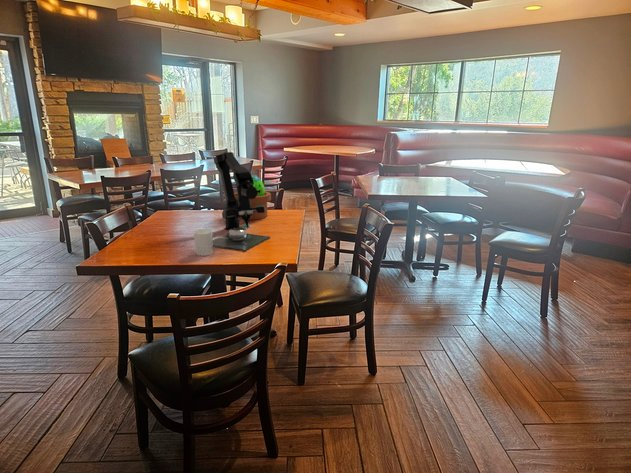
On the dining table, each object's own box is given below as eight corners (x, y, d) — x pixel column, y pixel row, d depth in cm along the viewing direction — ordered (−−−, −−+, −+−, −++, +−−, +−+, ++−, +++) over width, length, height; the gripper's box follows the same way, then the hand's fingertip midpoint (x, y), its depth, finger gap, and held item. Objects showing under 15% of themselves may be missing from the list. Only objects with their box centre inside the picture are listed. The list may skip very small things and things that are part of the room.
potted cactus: (226, 216, 244) (223, 174, 237) (258, 210, 258) (256, 170, 250) (245, 223, 228) (243, 178, 221) (278, 216, 241) (277, 174, 234)
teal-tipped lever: (243, 238, 190) (242, 232, 189) (226, 238, 192) (226, 231, 191) (255, 229, 206) (254, 223, 205) (239, 228, 208) (239, 222, 207)
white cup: (204, 257, 174) (202, 235, 171) (191, 254, 178) (189, 232, 175) (217, 252, 181) (216, 230, 178) (205, 249, 185) (203, 228, 182)
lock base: (201, 244, 191) (201, 239, 190) (229, 232, 210) (229, 228, 209) (245, 251, 182) (244, 246, 181) (270, 238, 201) (270, 233, 200)
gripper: (263, 191, 206) (266, 221, 211) (225, 194, 204) (229, 224, 209) (263, 195, 195) (266, 227, 200) (223, 199, 194) (227, 230, 198)
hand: (247, 227), depth 202 cm, fingers closed
